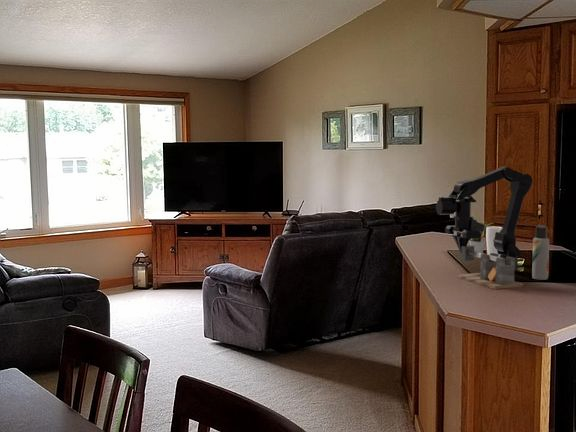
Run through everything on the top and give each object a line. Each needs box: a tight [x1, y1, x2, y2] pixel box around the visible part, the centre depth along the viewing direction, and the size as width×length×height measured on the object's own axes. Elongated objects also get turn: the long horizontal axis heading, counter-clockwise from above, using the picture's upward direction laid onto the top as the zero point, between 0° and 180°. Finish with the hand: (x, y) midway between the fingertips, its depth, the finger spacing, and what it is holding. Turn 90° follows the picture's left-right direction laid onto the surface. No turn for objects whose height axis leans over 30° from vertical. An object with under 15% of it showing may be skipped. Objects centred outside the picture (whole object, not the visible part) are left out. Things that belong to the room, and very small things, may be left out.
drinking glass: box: [485, 225, 503, 257], centre depth 281 cm, size 7×7×15 cm
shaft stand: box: [456, 253, 524, 290], centre depth 240 cm, size 23×12×10 cm, turn 19°
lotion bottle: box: [531, 224, 550, 281], centre depth 244 cm, size 6×6×20 cm
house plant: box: [468, 221, 493, 253], centre depth 302 cm, size 14×14×16 cm
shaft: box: [460, 244, 501, 262], centre depth 243 cm, size 22×4×6 cm, turn 19°
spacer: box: [488, 267, 496, 282], centre depth 235 cm, size 2×5×5 cm
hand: (462, 253), depth 255 cm, fingers closed
